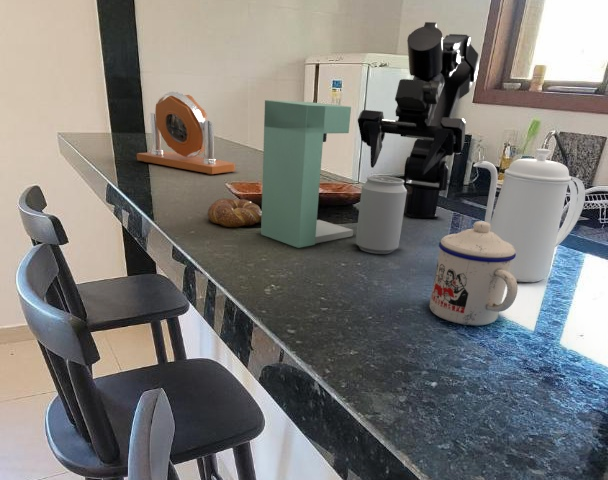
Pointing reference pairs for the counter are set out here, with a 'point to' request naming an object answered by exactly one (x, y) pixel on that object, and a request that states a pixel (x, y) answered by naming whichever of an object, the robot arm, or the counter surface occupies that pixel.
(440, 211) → the counter surface
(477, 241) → the teacup with lid
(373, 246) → the can
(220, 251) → the counter surface
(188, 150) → the desk clock
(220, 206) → the pretzel
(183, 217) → the counter surface
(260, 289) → the counter surface
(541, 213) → the coffeepot
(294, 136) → the coffee maker
